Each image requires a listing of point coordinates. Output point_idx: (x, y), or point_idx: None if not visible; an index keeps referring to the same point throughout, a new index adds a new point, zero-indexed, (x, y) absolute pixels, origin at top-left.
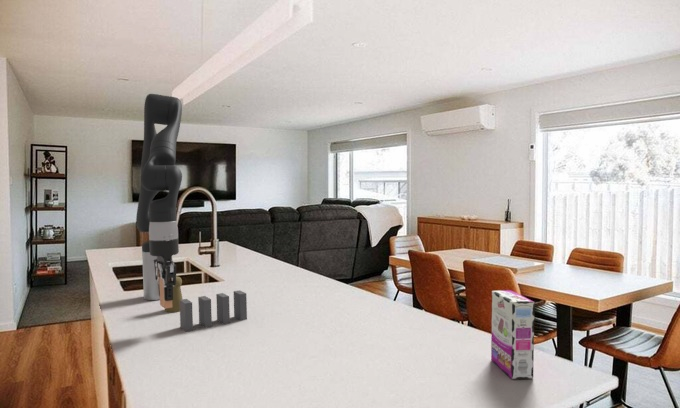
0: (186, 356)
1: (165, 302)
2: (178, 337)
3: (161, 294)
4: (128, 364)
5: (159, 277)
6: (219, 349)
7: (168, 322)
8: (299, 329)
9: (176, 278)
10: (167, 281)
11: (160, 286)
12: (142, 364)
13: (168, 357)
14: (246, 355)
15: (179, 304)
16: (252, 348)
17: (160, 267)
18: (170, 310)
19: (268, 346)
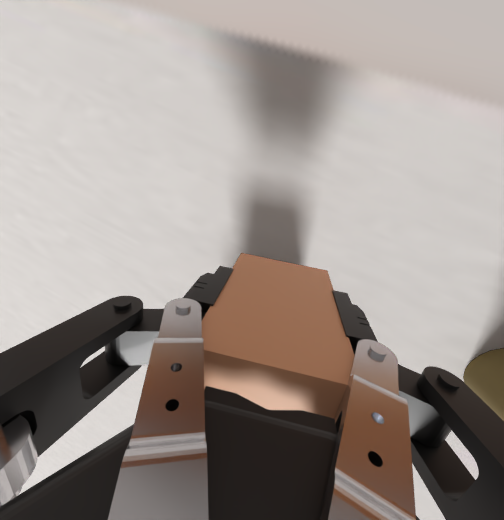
0: (62, 181)
1: (234, 266)
2: (216, 240)
3: (293, 290)
4: (82, 14)
5: (347, 380)
6: (68, 260)
7: (383, 293)
8: (95, 415)
9: None
10: (79, 320)
11: (313, 322)
12: (61, 54)
13: (77, 142)
14: (8, 275)
15: (484, 395)
16: (40, 305)
17: (123, 468)
18: (492, 358)
19: (37, 329)
